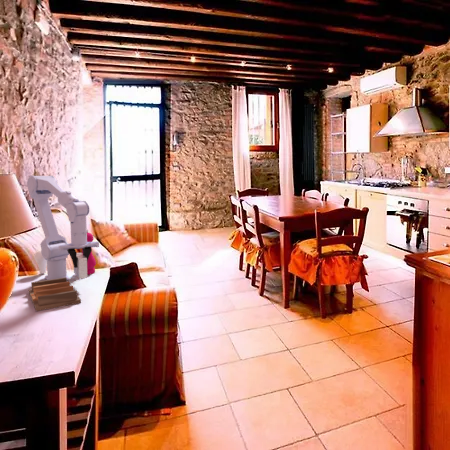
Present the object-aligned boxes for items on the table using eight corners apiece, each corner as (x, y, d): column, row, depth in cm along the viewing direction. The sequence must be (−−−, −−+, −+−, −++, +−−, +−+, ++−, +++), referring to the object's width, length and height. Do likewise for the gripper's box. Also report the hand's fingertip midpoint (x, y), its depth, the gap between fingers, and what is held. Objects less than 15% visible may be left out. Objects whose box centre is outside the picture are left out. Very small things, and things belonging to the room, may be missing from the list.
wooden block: (73, 272, 141) (73, 253, 139) (81, 271, 142) (81, 252, 141) (79, 278, 133) (78, 258, 132) (87, 277, 135) (86, 257, 134)
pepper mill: (79, 271, 159) (77, 228, 156) (96, 269, 162) (94, 227, 159) (78, 275, 153) (76, 230, 149) (96, 274, 155) (94, 230, 152)
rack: (28, 292, 131) (28, 282, 130) (68, 286, 139) (68, 276, 138) (36, 311, 115) (35, 299, 114) (80, 302, 123) (80, 291, 122)
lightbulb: (32, 274, 153) (30, 250, 151) (44, 271, 158) (43, 247, 156) (40, 276, 150) (39, 251, 148) (53, 273, 155) (52, 249, 154)
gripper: (60, 236, 128) (62, 271, 130) (100, 232, 136) (101, 266, 138) (56, 232, 134) (58, 267, 136) (95, 229, 142) (96, 262, 144)
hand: (80, 266), depth 137 cm, fingers closed on wooden block, 3 cm apart
